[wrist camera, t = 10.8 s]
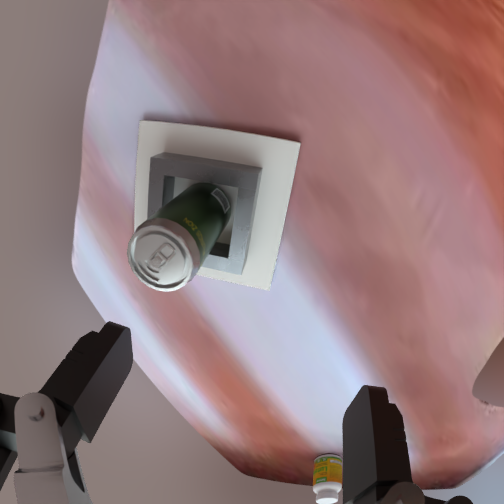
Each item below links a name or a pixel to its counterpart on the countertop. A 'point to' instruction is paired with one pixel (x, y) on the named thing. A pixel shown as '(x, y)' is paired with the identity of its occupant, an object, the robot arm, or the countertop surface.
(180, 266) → the beer can
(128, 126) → the countertop surface
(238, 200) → the can collar
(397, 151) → the countertop surface
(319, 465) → the supplement bottle
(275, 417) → the countertop surface
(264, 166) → the holder plate
